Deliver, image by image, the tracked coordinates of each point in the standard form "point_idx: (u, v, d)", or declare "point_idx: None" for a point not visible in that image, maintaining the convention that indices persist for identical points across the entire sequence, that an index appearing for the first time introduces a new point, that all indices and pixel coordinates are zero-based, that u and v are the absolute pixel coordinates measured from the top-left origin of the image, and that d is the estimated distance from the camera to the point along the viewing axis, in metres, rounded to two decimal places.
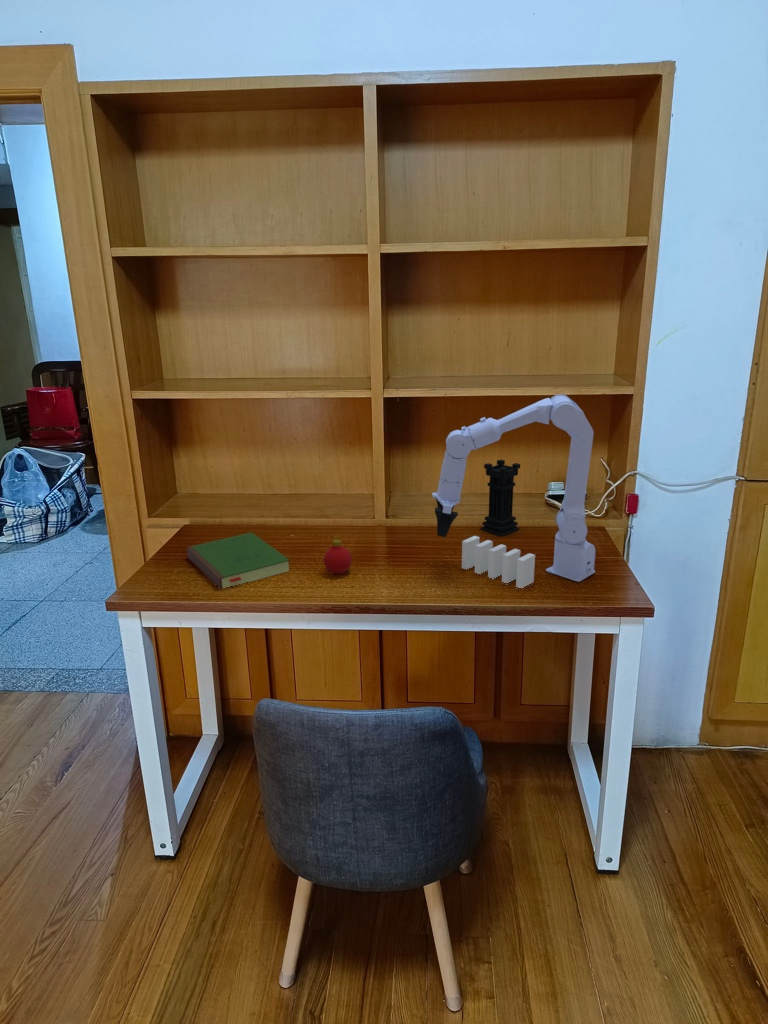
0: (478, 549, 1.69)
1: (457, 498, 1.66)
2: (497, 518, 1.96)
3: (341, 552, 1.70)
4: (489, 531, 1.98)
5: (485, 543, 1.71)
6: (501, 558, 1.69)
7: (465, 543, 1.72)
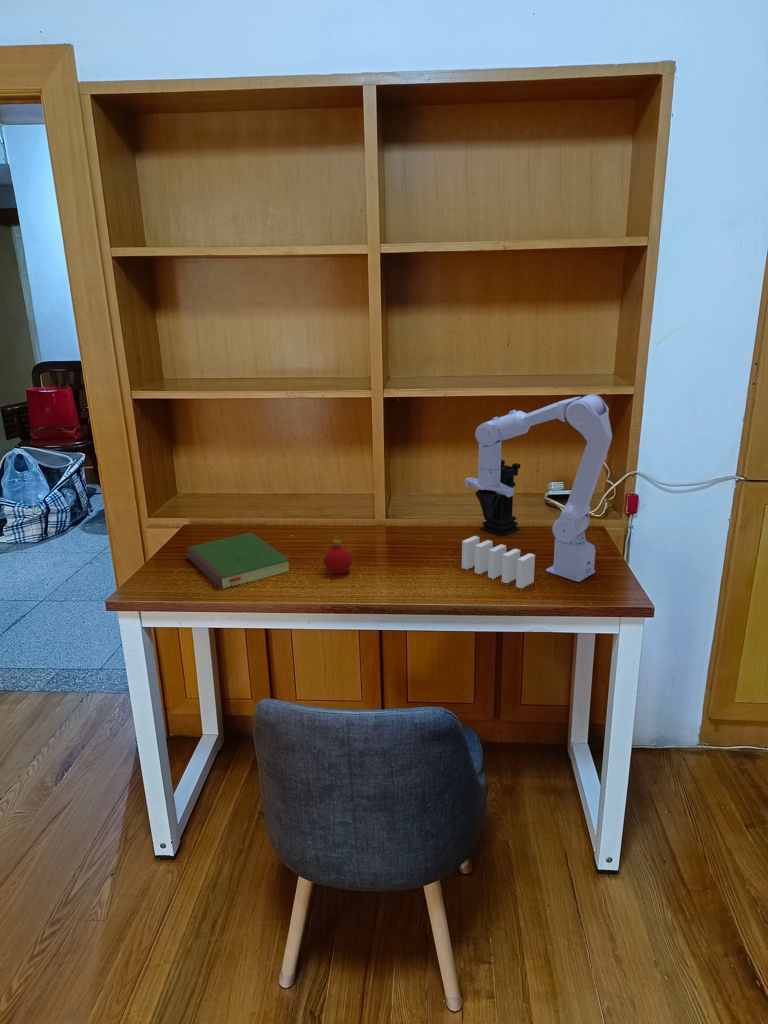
0: (478, 549, 1.69)
1: None
2: (497, 518, 1.96)
3: (341, 552, 1.70)
4: (489, 531, 1.98)
5: (485, 543, 1.71)
6: (501, 558, 1.69)
7: (465, 543, 1.72)
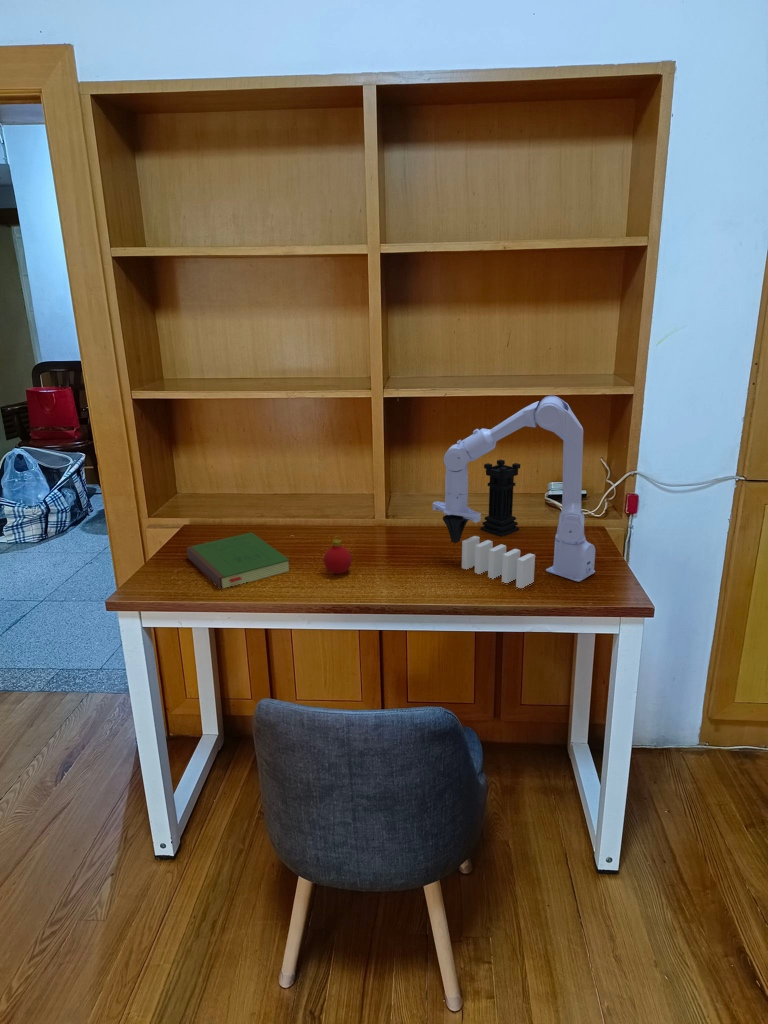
0: (478, 549, 1.69)
1: None
2: (497, 518, 1.96)
3: (341, 552, 1.70)
4: (489, 531, 1.98)
5: (485, 543, 1.71)
6: (501, 558, 1.69)
7: (465, 543, 1.72)
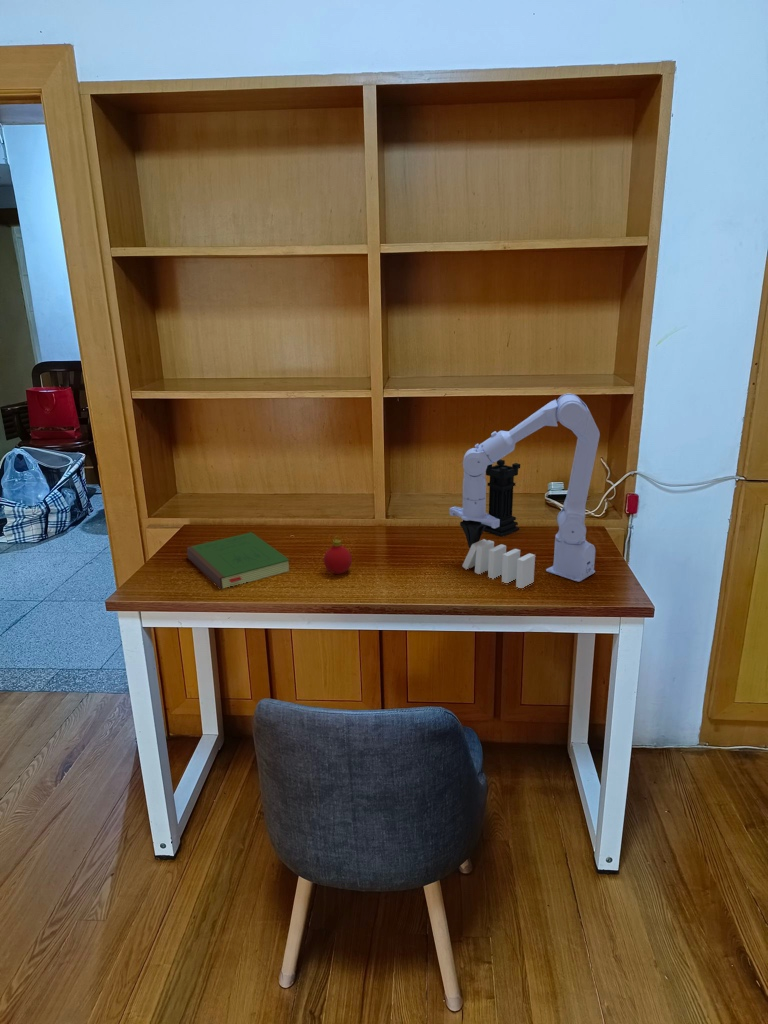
0: (479, 549, 1.69)
1: None
2: (497, 518, 1.96)
3: (341, 552, 1.70)
4: (489, 531, 1.98)
5: (486, 543, 1.70)
6: (501, 558, 1.69)
7: (474, 547, 1.70)
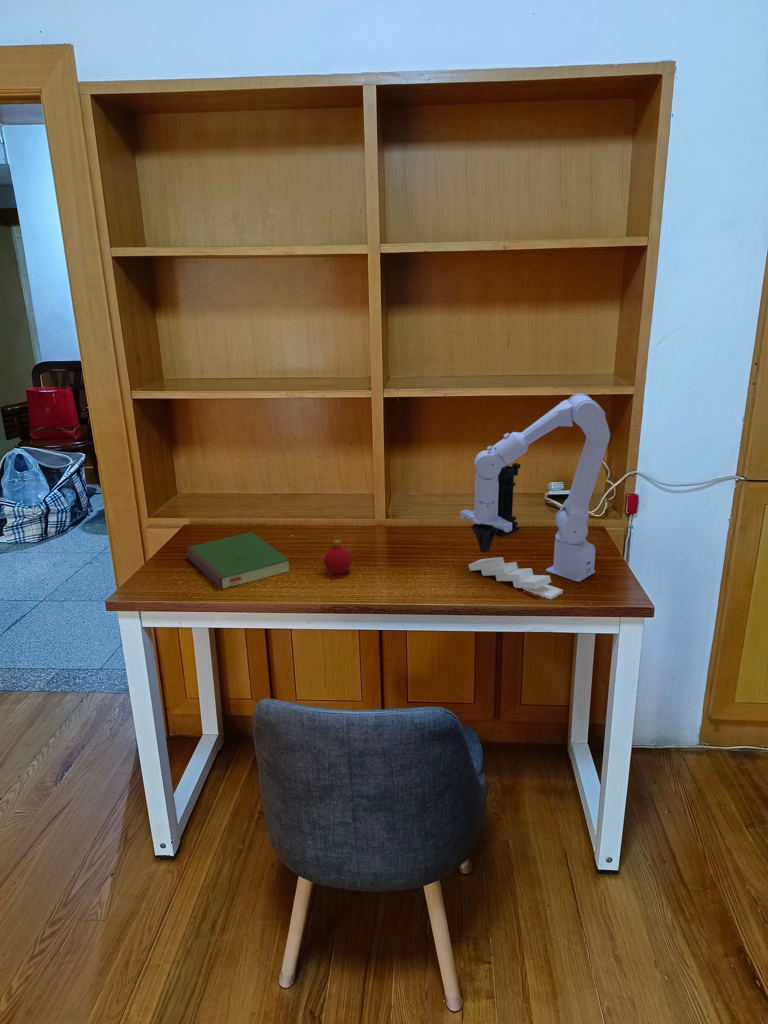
0: (502, 572, 1.65)
1: None
2: None
3: (341, 552, 1.70)
4: None
5: (511, 568, 1.66)
6: None
7: (489, 566, 1.68)
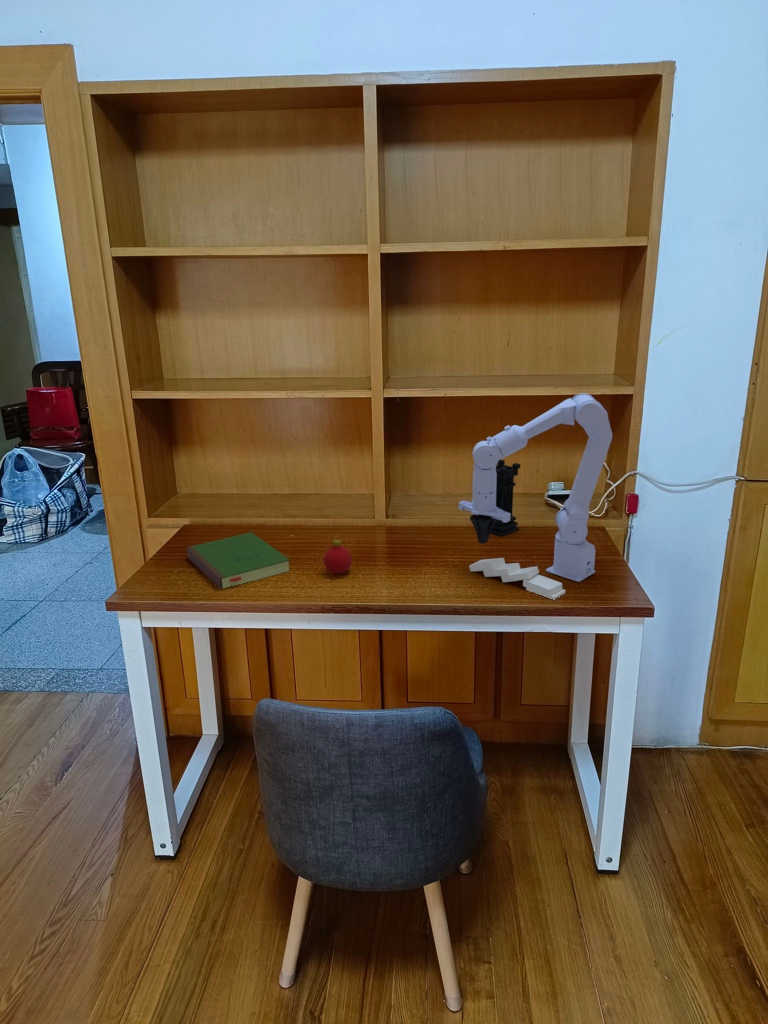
0: (505, 573, 1.65)
1: None
2: None
3: (341, 552, 1.70)
4: None
5: (514, 569, 1.66)
6: None
7: (491, 567, 1.67)
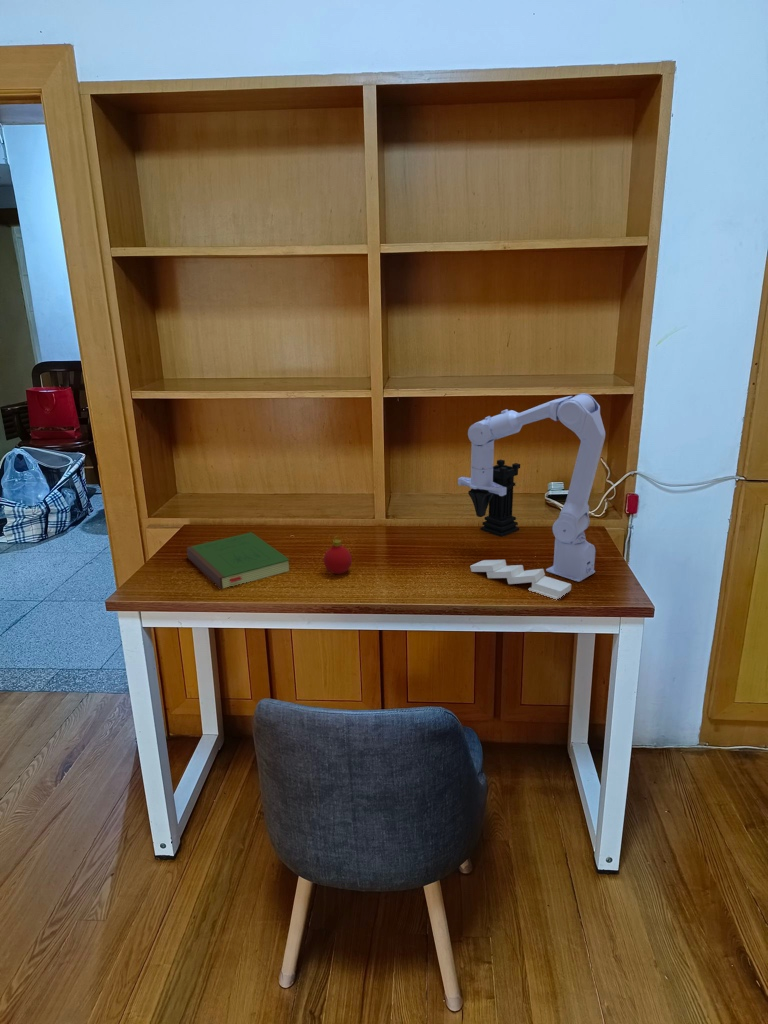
0: (509, 575, 1.64)
1: None
2: (497, 518, 1.96)
3: (341, 552, 1.70)
4: (489, 531, 1.98)
5: (518, 572, 1.65)
6: None
7: (492, 569, 1.67)
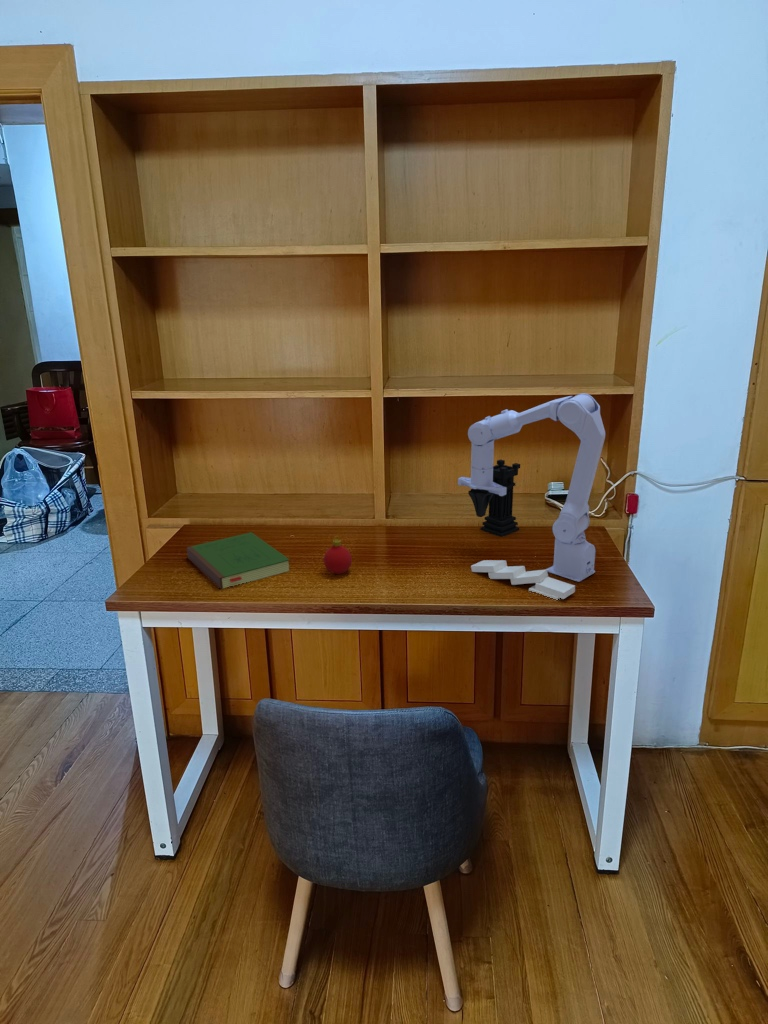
0: (511, 576, 1.64)
1: None
2: (497, 518, 1.96)
3: (341, 552, 1.70)
4: (489, 531, 1.98)
5: (520, 573, 1.65)
6: None
7: (492, 569, 1.67)
